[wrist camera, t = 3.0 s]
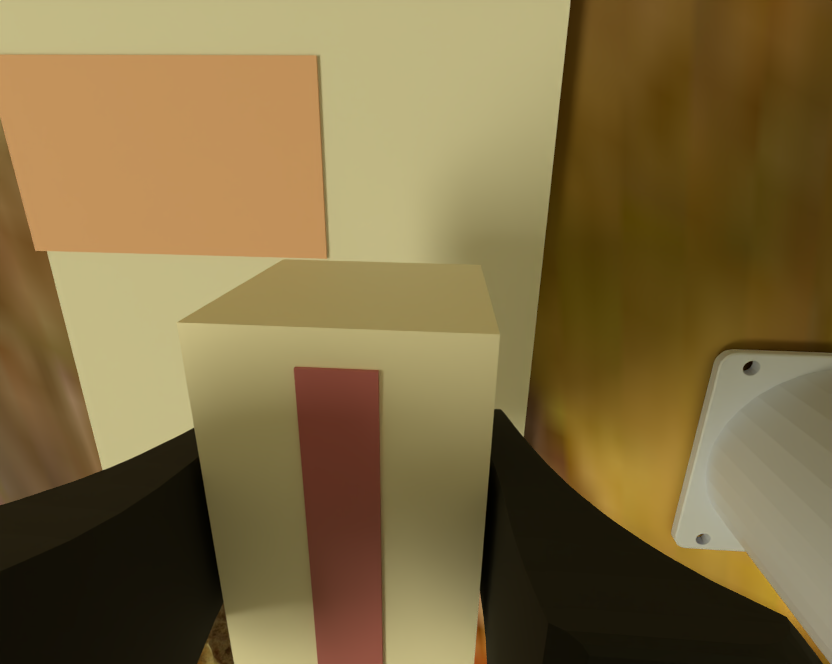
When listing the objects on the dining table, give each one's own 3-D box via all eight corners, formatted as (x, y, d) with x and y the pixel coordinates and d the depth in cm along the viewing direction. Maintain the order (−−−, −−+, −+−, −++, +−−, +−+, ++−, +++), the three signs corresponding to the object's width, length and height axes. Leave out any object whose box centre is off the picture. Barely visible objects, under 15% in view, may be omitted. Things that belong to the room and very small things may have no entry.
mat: (567, -12, 13) (573, -21, 12) (515, 485, 18) (517, 497, 17) (-12, -9, 14) (-35, -17, 13) (106, 463, 19) (94, 473, 18)
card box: (480, 264, 11) (501, 336, 6) (463, 545, 13) (469, 728, 9) (283, 259, 11) (173, 324, 7) (306, 535, 14) (239, 708, 9)
